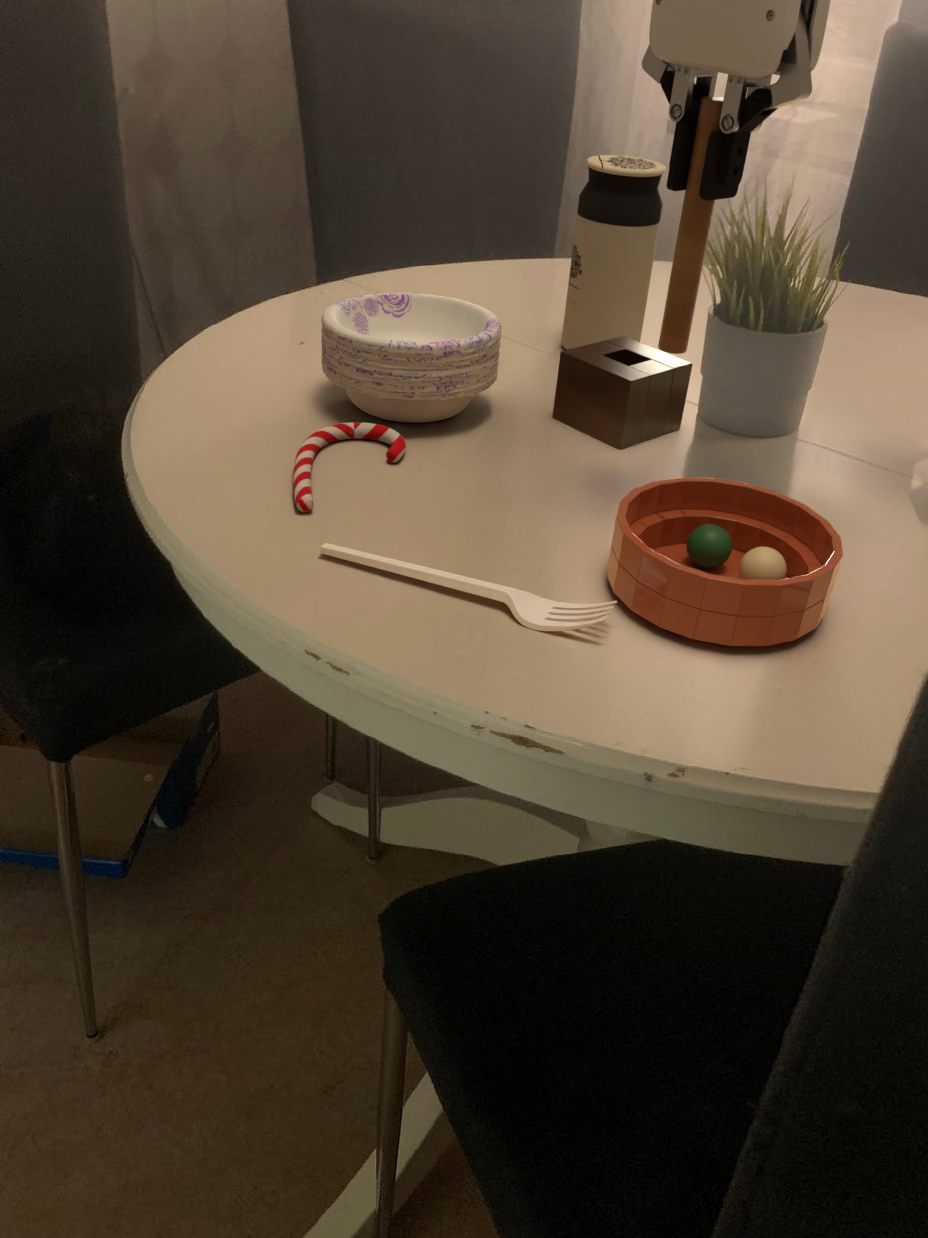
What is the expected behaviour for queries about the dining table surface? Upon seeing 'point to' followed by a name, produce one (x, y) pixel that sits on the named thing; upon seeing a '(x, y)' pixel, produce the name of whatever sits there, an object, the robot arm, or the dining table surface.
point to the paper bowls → (410, 353)
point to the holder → (621, 391)
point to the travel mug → (613, 250)
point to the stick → (690, 238)
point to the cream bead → (762, 565)
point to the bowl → (718, 598)
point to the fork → (488, 593)
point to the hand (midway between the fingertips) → (701, 190)
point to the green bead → (709, 546)
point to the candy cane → (330, 435)
